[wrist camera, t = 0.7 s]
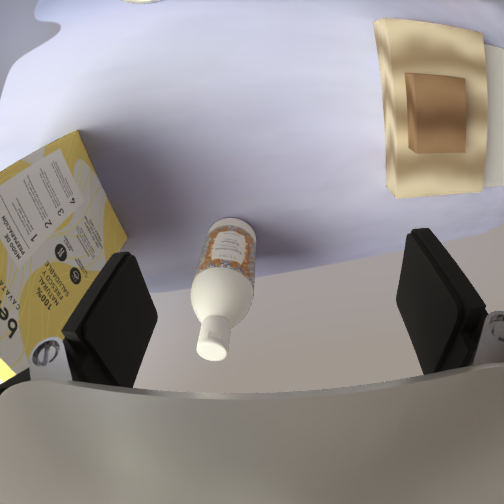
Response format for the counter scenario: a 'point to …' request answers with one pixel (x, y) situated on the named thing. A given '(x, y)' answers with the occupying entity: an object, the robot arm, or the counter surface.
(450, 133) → the walnut tile
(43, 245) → the pasta box
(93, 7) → the counter surface
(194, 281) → the bath foam
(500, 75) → the cream mat
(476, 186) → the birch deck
